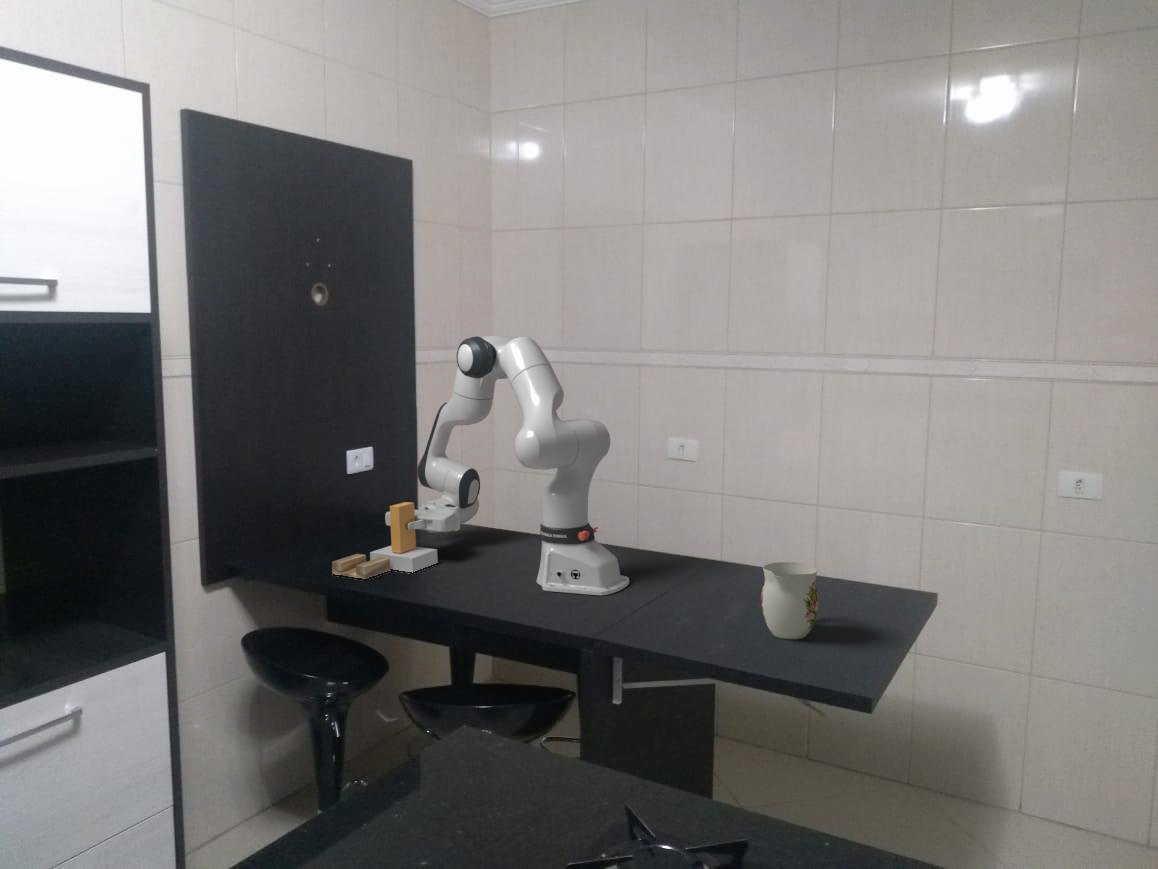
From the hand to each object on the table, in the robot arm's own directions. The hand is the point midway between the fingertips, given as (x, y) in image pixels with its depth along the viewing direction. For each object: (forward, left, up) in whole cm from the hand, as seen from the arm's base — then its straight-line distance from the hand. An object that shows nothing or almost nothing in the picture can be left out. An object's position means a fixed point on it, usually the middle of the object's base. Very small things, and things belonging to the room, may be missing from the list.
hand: (400, 526), depth 226 cm
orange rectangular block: (0, -1, -6) cm, 7 cm away
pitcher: (-103, +4, -11) cm, 104 cm away
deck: (0, -1, -11) cm, 11 cm away
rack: (+5, +10, -11) cm, 15 cm away
